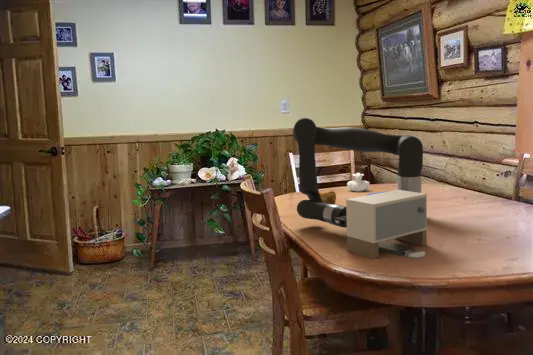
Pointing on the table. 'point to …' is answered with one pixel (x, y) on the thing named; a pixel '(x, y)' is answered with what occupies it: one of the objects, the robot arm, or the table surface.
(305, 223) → the table surface
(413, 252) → the steel token
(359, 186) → the white animal figurine
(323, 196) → the bread roll
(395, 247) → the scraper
